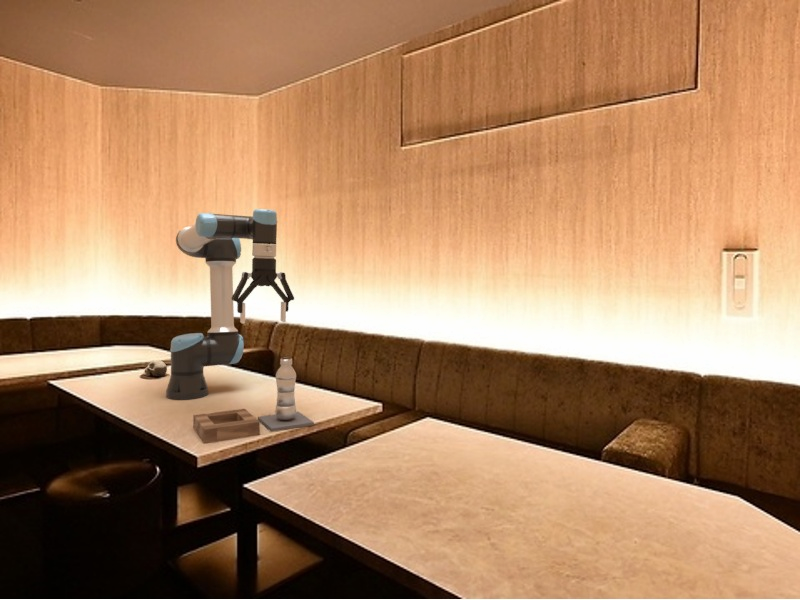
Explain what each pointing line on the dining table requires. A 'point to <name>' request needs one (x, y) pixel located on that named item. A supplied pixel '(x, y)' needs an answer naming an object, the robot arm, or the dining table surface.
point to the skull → (155, 370)
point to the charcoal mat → (285, 422)
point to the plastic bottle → (285, 390)
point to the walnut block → (225, 425)
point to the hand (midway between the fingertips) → (263, 322)
